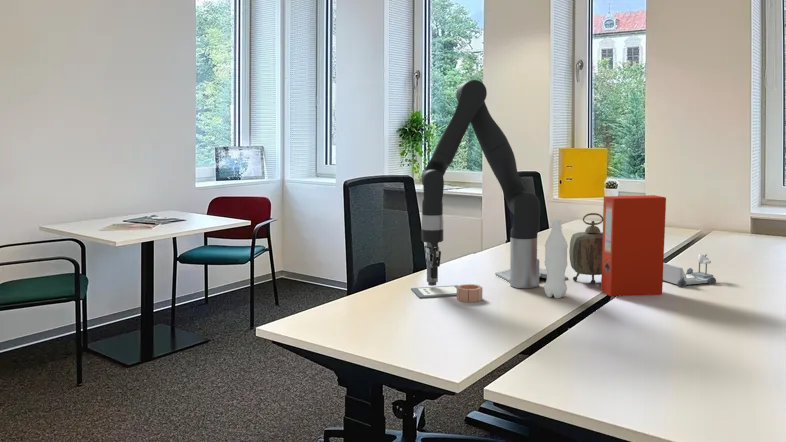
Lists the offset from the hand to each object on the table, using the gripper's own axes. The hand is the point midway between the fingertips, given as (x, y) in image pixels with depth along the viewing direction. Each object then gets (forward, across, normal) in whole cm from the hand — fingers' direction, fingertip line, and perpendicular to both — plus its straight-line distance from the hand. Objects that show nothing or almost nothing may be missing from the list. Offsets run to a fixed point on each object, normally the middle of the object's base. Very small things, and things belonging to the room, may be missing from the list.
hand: (432, 276), depth 217 cm
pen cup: (+5, -16, -8) cm, 19 cm away
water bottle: (+4, -20, -36) cm, 42 cm away
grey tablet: (+5, -4, -1) cm, 6 cm away
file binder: (+4, -22, -62) cm, 66 cm away
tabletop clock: (+4, -5, -57) cm, 58 cm away
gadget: (+5, +9, -40) cm, 42 cm away
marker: (+3, 0, 0) cm, 3 cm away
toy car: (+4, -13, -90) cm, 91 cm away
